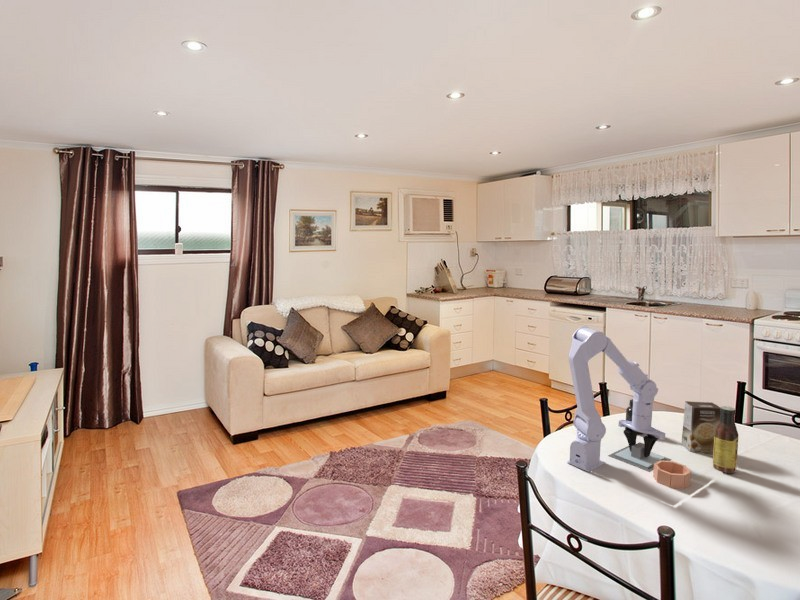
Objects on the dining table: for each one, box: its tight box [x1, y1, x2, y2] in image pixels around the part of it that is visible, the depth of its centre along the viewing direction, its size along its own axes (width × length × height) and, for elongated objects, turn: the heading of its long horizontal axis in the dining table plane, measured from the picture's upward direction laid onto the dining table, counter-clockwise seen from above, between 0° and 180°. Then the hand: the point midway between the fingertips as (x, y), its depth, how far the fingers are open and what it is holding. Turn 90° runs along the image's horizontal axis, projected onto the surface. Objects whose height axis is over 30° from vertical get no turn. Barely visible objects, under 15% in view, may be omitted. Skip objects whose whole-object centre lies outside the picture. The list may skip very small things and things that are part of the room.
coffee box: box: [680, 400, 721, 455], centre depth 168 cm, size 9×6×16 cm
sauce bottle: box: [712, 405, 739, 474], centre depth 154 cm, size 6×6×20 cm
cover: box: [614, 441, 666, 469], centre depth 163 cm, size 11×11×4 cm
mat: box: [607, 445, 673, 473], centre depth 163 cm, size 14×14×1 cm
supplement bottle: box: [624, 398, 645, 436], centre depth 184 cm, size 7×7×12 cm
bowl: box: [652, 460, 692, 489], centre depth 148 cm, size 9×9×4 cm
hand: (639, 453), depth 163 cm, fingers open, 4 cm apart
